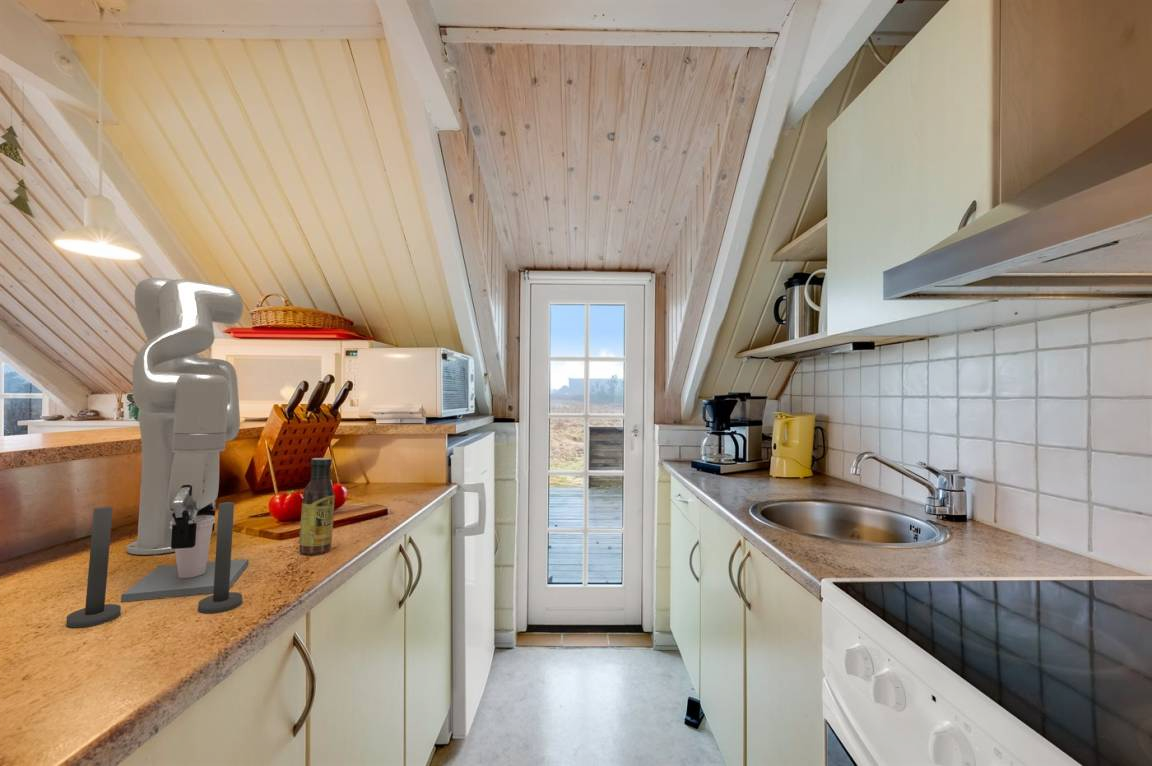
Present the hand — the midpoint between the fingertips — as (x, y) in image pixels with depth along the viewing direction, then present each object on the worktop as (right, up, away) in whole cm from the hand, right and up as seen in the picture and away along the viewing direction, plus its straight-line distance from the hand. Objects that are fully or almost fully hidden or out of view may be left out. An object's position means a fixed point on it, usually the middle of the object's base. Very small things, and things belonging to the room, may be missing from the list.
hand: (193, 539), depth 86 cm
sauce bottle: (+12, -9, +18) cm, 23 cm away
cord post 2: (+12, -7, -10) cm, 17 cm away
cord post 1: (-3, -7, -15) cm, 17 cm away
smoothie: (0, -6, 0) cm, 6 cm away
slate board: (0, -7, 0) cm, 7 cm away
